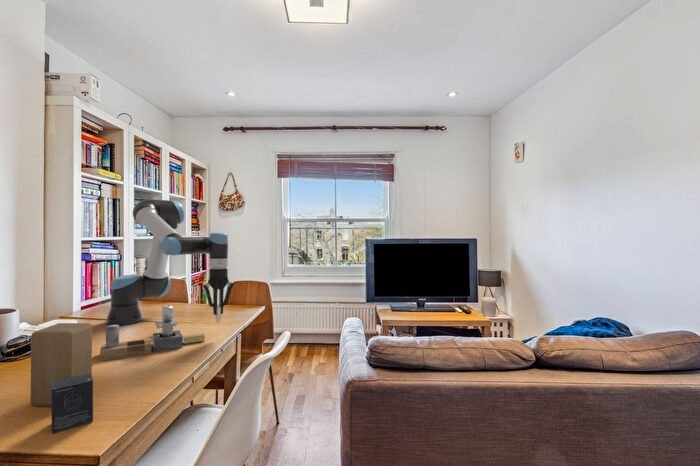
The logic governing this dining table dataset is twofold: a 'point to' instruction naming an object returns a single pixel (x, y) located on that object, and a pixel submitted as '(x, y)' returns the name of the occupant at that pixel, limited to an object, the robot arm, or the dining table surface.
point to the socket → (167, 341)
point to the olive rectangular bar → (193, 338)
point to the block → (58, 357)
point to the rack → (122, 345)
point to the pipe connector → (159, 323)
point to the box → (72, 402)
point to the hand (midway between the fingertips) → (218, 321)
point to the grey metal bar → (167, 321)
